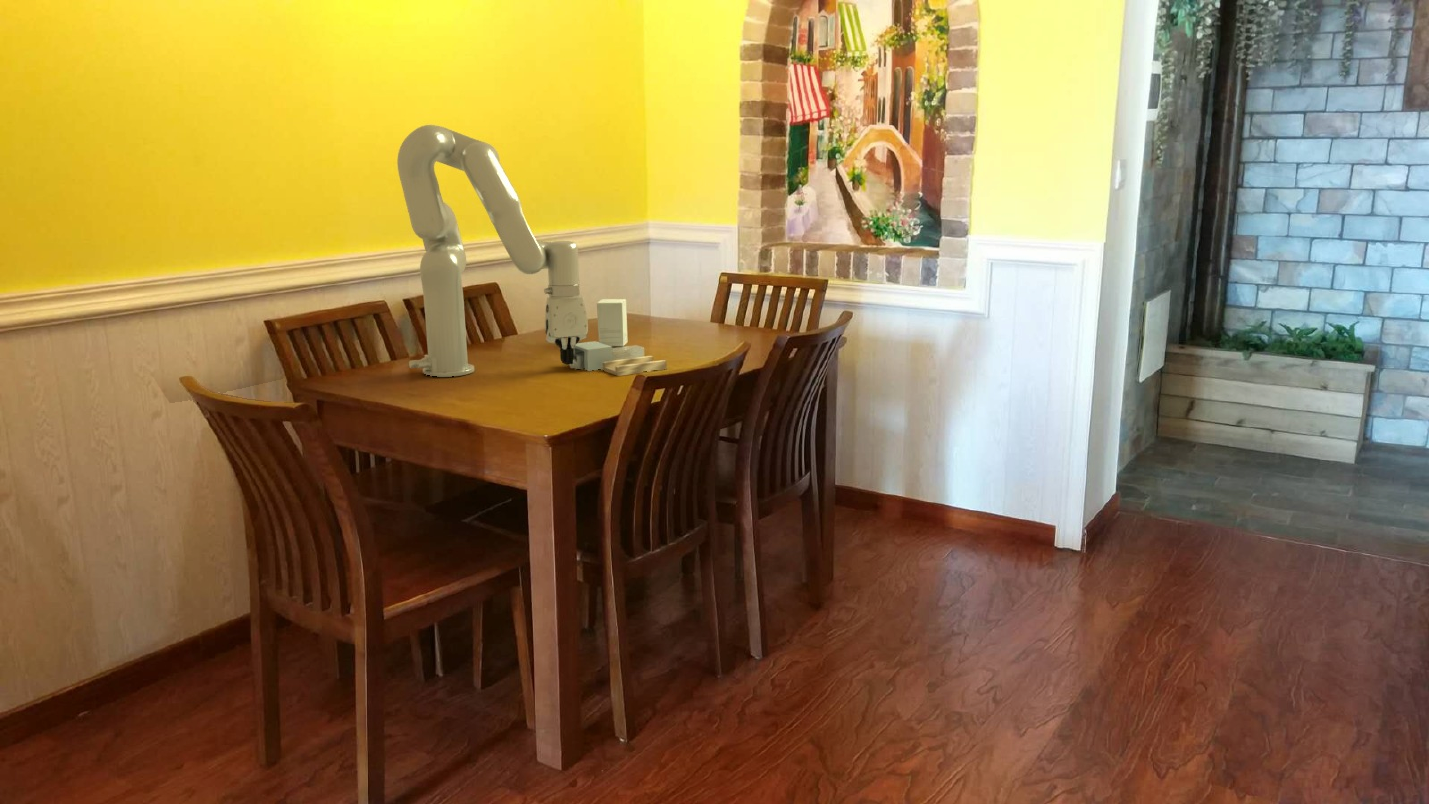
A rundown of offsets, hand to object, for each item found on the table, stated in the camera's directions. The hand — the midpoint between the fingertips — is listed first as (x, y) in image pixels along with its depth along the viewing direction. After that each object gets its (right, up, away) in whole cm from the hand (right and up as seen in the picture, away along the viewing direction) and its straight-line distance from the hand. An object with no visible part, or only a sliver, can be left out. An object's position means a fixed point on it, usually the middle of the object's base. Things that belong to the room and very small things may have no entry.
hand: (567, 363), depth 263 cm
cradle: (+17, -2, 0) cm, 17 cm away
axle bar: (+9, 0, +8) cm, 12 cm away
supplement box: (+8, +7, +34) cm, 35 cm away
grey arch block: (+6, -1, +4) cm, 7 cm away
